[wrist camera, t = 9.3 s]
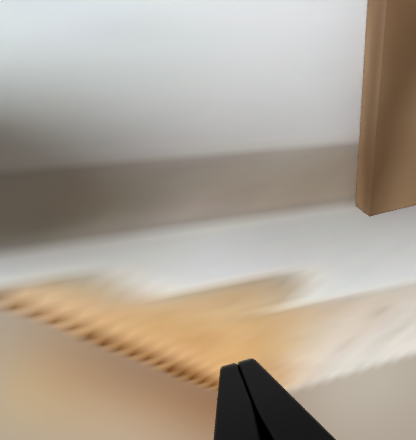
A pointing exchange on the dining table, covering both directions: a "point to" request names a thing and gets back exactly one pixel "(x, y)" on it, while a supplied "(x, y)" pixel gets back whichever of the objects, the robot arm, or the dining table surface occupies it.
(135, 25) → the dining table surface
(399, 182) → the dial plate
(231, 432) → the robot arm
